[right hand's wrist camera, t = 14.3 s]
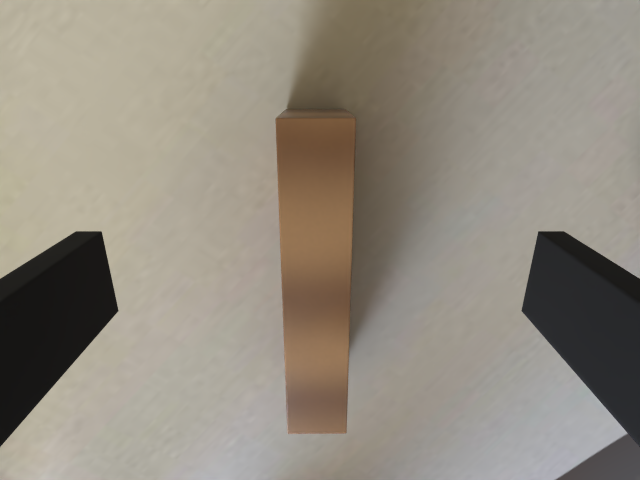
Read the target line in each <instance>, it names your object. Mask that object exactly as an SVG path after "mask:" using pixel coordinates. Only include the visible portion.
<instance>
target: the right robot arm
mask: <svg viewBox="0 0 640 480" xmlns="http://www.w3.org/2000/svg"><path fill="white" fill-rule="evenodd" d="M117 312H118V307H117V302H116V297H115V292H114V288H113V283H112V278H111V274H110V269H109V264H108V259H107V255H106V250H105V245H104V241H103V236H102V232H74V233H73V234H71V235H70V236H68V237H66V238H65V239H63V240H62V241H60V242H58V243H57V244H55V245H54V246H52V247H50V248H49V249H47V250H46V251H44V252H43V253H41V254H39V255H38V256H36V257H35V258H33V259H31V260H30V261H28V262H27V263H25V264H23V265H22V266H20V267H19V268H17V269H15V270H14V271H12V272H11V273H9V274H7V275H6V276H4V277H3V278H1V279H0V446H1V445H2V444H3V443H4V442H5V441H6V440H7V438H8V437H9V436H10V435H11V434H12V433H13V432H14V430H15V429H16V428H17V427H18V426H19V425H20V423H21V422H22V421H23V420H24V419H25V418H26V417H27V415H28V414H29V413H30V412H31V411H32V410H33V409H34V407H35V406H36V405H37V404H38V403H39V402H40V400H41V399H42V398H43V397H44V396H45V395H46V394H47V392H48V391H49V390H50V389H51V388H52V387H53V386H54V384H55V383H56V382H57V381H58V380H59V379H60V377H61V376H62V375H63V374H64V373H65V372H66V371H67V369H68V368H69V367H70V366H71V365H72V364H73V363H74V361H75V360H76V359H77V358H78V357H79V356H80V354H81V353H82V352H83V351H84V350H85V349H86V348H87V346H88V345H89V344H90V343H91V342H92V341H93V340H94V338H95V337H96V336H97V335H98V334H99V333H100V331H101V330H102V329H103V328H104V327H105V326H106V325H107V323H108V322H109V321H110V320H111V319H112V318H113V317H114V315H115V314H116V313H117ZM522 312H523V313H524V314H525V315H526V317H527V318H528V319H529V320H530V321H531V322H532V323H533V325H534V326H535V327H536V328H537V329H538V330H539V331H540V333H541V334H542V335H543V336H544V337H545V338H546V340H547V341H548V342H549V343H550V344H551V345H552V346H553V348H554V349H555V350H556V351H557V352H558V353H559V354H560V356H561V357H562V358H563V359H564V360H565V361H566V363H567V364H568V365H569V366H570V367H571V368H572V369H573V371H574V372H575V373H576V374H577V375H578V376H579V377H580V379H581V380H582V381H583V382H584V383H585V384H586V386H587V387H588V388H589V389H590V390H591V391H592V392H593V394H594V395H595V396H596V397H597V398H598V399H599V400H600V402H601V403H602V404H603V405H604V406H605V407H606V409H607V410H608V411H609V412H610V413H611V414H612V415H613V417H614V418H615V419H616V420H617V421H618V422H619V423H620V425H621V426H622V427H623V428H624V429H625V430H626V432H627V433H628V434H629V435H630V436H631V437H632V438H633V440H634V441H635V442H636V443H637V444H638V445H639V446H640V279H639V278H637V277H636V276H634V275H633V274H631V273H629V272H628V271H626V270H625V269H623V268H621V267H620V266H618V265H617V264H615V263H613V262H612V261H610V260H609V259H607V258H605V257H604V256H602V255H601V254H599V253H597V252H596V251H594V250H593V249H591V248H590V247H588V246H586V245H585V244H583V243H582V242H580V241H578V240H577V239H575V238H574V237H572V236H570V235H569V234H567V233H566V232H538V236H537V241H536V245H535V250H534V255H533V259H532V264H531V269H530V274H529V278H528V283H527V288H526V292H525V297H524V302H523V307H522Z"/></svg>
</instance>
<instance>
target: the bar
mask: <svg viewBox="0 0 640 480" xmlns="http://www.w3.org/2000/svg"><path fill="white" fill-rule="evenodd" d="M355 138H356V118H355V117H354V116H353V115H352V114H350V113H349V112H348V111H347V110H346V109H286V110H285V111H284V112H283V113H281V114H280V115H279V116H278V117H277V118H276V141H277V168H278V194H279V221H280V247H281V274H282V300H283V327H284V353H285V380H286V406H287V433H288V434H342V433H346V431H347V398H348V366H349V333H350V301H351V268H352V236H353V203H354V171H355Z"/></svg>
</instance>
